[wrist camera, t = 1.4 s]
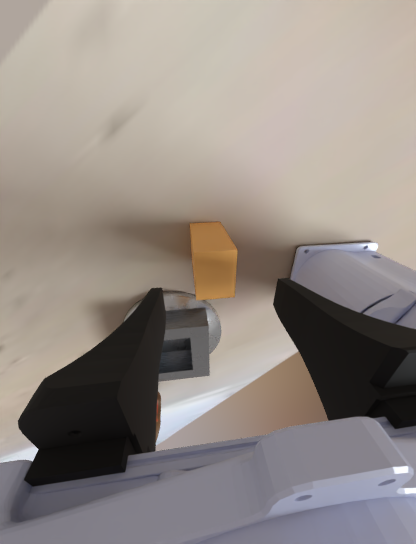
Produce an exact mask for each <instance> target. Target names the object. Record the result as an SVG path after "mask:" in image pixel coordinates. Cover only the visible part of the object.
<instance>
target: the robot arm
mask: <svg viewBox="0 0 416 544" xmlns="http://www.w3.org/2000/svg"><path fill="white" fill-rule="evenodd" d="M364 246H365V247H364ZM377 247H378V244H377V243H375V242H362V243H346V244H329V245H313V246H300V247H298V248H297V250H296V254H295V259H294V263H293V268H292V272H291V277H290V279H288V278H282V279H278V281H277V287H276V292H275V297H274V303H273V305H274V308H275V310H276V313H277V315H278V317H279V319H280V321H281V322H282V324H283V326H284V327H285V329H286V331H287V332H288V334H289V336H290V337H291V339H292V341H293V342H294V344H295V345H296V347H297V349H298V351H299V352H300V354H301V356H302V358H303V360H304V362H305V365H306V367H307V369H308V371H309V373H310V375H311V377H312V380H313V382H314V384H315V387H316V389H317V392H318V394H319V396H320V399H321V402H322V404H323V406H324V409H325V412H326V414H327V417H328V420H329V421H324V422H318V423H311V424H304V425H298V426H291V427H286V428H283V429H279V430H275V431H273V432H271V433H269V434H267V435H261V436H254V437H247V438H241V439H235V440H228V441H222V442H214V443H208V444H201V445H195V446H188V447H181V448H175V449H168V450H162V451H155V446H156V418H157V397H158V380H159V367H160V360H161V354H162V348H163V342H164V336H165V329H166V310H165V304H164V297H163V291H162V288H152V289H151V290H150V291H149V292H148V294H147V295H146V296H145V298H144V299H143V300H142V302H141V303H140V304H139V305H138V307H137V308H136V309H135V310H134V311H133V313H132V314H131V315H130V316H129V317H128V318H127V319H126V320H125V321H124V322H123V323H122V324H121V325H120V326H119V327H118V328H117V329H116V330H115V331H114V332H113V333H112V334H111V335H109V336H108V337H107V338H106V339H104V340H103V341H102V342H100V343H99V344H98V345H97V346H95V347H94V348H93V349H91V350H90V351H88V352H87V353H86V354H84V355H83V356H81V357H80V358H78V359H77V360H75V361H74V362H72V363H70V364H69V365H67V366H65V367H64V368H62V369H60V370H59V371H57V372H55V373H53V374H52V375H50V376H48V377H46V378H45V379H44V380H43V381H42V383H41V384H40V386H39V387H38V389H37V390H36V392H35V393H34V395H33V397H32V398H31V400H30V401H29V403H28V405H27V406H26V408H25V410H24V411H23V413H22V415H21V416H20V418H19V420H18V426H19V429H20V430H21V432H22V433H23V434H24V435H25V436H26V437H27V438H28V439H29V440H30V441H31V442H32V443H33V444H34V445H35V446H36V447H37V448H38V449H39V450H38V452H37V454H36V456H35V458H34V460H33V462H32V461H29V460H17V461H10V462H3V463H0V544H416V271H415V270H413V269H411V268H408V267H406V266H404V265H402V264H400V263H398V262H396V261H394V260H392V259H390V258H388V257H385V256H383V255H381V254H379V253H377V252H375V251H376V249H377ZM306 249H307V251H306V252H304V251H305V250H306Z"/></svg>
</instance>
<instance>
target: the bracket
mask: <svg viewBox="0 0 416 544" xmlns="http://www.w3.org/2000/svg"><path fill="white" fill-rule="evenodd" d="M163 297H164V304H165V310H166V329H165V336H164V342H163V348H162V354H161V360H160V367H159V380H158V382H159V381H167V380H176V379H184V378H193V377H201V376H209V354H210V353H211V352H212V351H213V350H214V349H215V348H216V346H217V345H218V343H219V341H220V337H221V325H220V321H219V317H218V315H217V313H216V311H215V310H214V308H213V307H212V306H211V305H210V304H209V303H208V302H206V301H205V300H196V296H195V295H192V294H189V293H184V292H163ZM142 300H143V299H142ZM142 300H140V301H139V302H137V303H136V304H135V305H134V306H133V307H132V308H131V309H130V310H129V311H128V313H127V315H126V316H125V319H124V321H125V320H126V319H127V318H128V317H129V316H130V315H131V314H132V313H133V311H134V310H135V309H136V308H137V307H138V305H139V304H140V303H141V302H142Z"/></svg>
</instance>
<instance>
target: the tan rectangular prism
mask: <svg viewBox="0 0 416 544" xmlns="http://www.w3.org/2000/svg"><path fill="white" fill-rule="evenodd" d="M190 236H191V253H192V265H193V275H194V284H195V293H196V300H207V299H219V298H230V297H235V282H236V267H237V251H238V250H237V248H236V247H235V245H234V243H233V242H232V240H231V239H230V237H229V235H228V234H227V232H226V231H225V229H224V227H223V226H222V224H221V222H208V223H190Z"/></svg>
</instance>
